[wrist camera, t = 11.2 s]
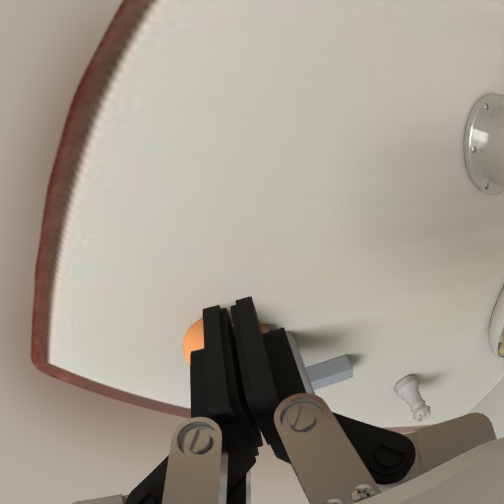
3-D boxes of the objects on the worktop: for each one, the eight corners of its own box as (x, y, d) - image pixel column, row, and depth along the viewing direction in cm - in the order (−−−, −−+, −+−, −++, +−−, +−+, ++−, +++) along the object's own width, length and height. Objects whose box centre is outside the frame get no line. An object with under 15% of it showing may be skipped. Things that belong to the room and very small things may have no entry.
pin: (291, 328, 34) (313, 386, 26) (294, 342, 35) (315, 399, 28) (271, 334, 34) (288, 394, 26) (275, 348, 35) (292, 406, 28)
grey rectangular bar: (345, 354, 38) (352, 368, 36) (345, 363, 39) (352, 376, 37) (198, 394, 37) (199, 409, 35) (203, 402, 38) (204, 417, 36)
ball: (258, 333, 32) (246, 334, 26) (234, 382, 31) (218, 392, 25) (209, 308, 34) (189, 304, 28) (187, 356, 33) (163, 360, 27)
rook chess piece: (414, 382, 46) (434, 415, 39) (393, 394, 46) (411, 428, 39) (415, 369, 44) (437, 404, 37) (392, 382, 44) (412, 418, 37)
